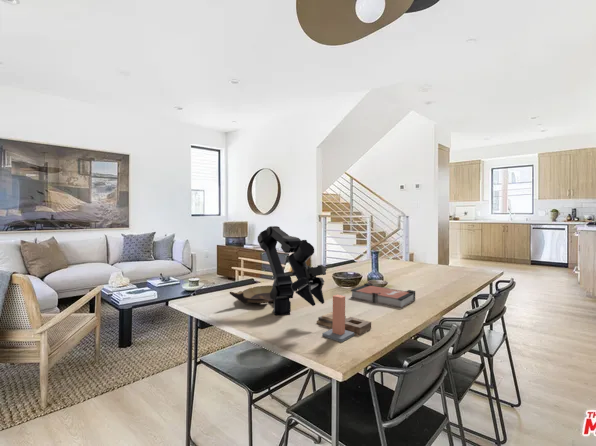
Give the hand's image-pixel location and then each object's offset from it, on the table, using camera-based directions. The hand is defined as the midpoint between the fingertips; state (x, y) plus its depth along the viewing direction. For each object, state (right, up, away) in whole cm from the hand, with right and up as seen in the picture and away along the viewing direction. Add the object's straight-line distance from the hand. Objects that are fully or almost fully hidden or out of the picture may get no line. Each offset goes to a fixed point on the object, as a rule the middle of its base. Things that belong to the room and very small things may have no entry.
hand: (318, 304), depth 122 cm
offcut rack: (+10, -9, +4) cm, 14 cm away
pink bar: (+6, -8, -6) cm, 12 cm away
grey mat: (+6, -9, -6) cm, 13 cm away
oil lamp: (-27, -8, +36) cm, 45 cm away
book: (+34, -8, +42) cm, 54 cm away
